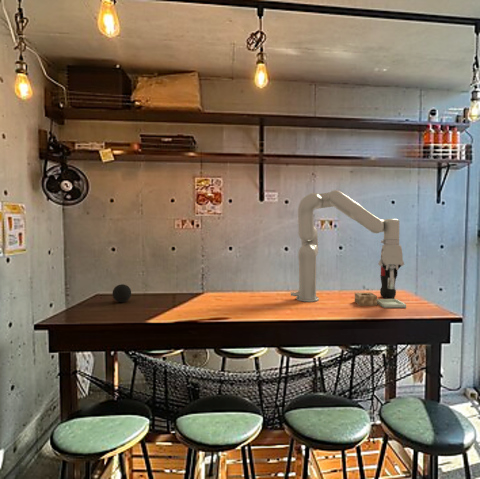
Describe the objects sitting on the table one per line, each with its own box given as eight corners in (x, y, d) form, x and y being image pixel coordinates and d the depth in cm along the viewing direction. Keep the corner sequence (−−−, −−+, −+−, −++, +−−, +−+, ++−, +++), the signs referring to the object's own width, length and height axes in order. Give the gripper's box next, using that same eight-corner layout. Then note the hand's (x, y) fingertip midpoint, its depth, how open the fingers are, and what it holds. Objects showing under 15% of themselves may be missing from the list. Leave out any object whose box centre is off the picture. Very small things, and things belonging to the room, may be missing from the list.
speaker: (134, 300, 208) (133, 282, 207) (127, 304, 198) (126, 286, 197) (117, 300, 209) (116, 282, 208) (109, 304, 199) (109, 286, 198)
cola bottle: (398, 299, 206) (399, 246, 204) (383, 299, 206) (384, 246, 204) (392, 295, 214) (393, 245, 213) (377, 295, 215) (378, 245, 213)
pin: (388, 289, 190) (388, 266, 189) (385, 287, 194) (385, 264, 194) (397, 289, 190) (397, 265, 189) (393, 287, 194) (393, 264, 193)
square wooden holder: (359, 305, 191) (359, 296, 191) (354, 301, 200) (354, 292, 200) (376, 305, 191) (377, 296, 191) (371, 301, 200) (371, 292, 200)
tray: (383, 307, 186) (383, 304, 186) (375, 302, 199) (375, 299, 199) (406, 307, 186) (406, 304, 186) (396, 302, 199) (396, 299, 198)
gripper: (378, 243, 187) (377, 278, 188) (410, 242, 187) (410, 278, 188) (373, 242, 195) (372, 276, 196) (404, 241, 194) (403, 276, 195)
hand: (391, 277), depth 192 cm, fingers closed on pin, 3 cm apart
